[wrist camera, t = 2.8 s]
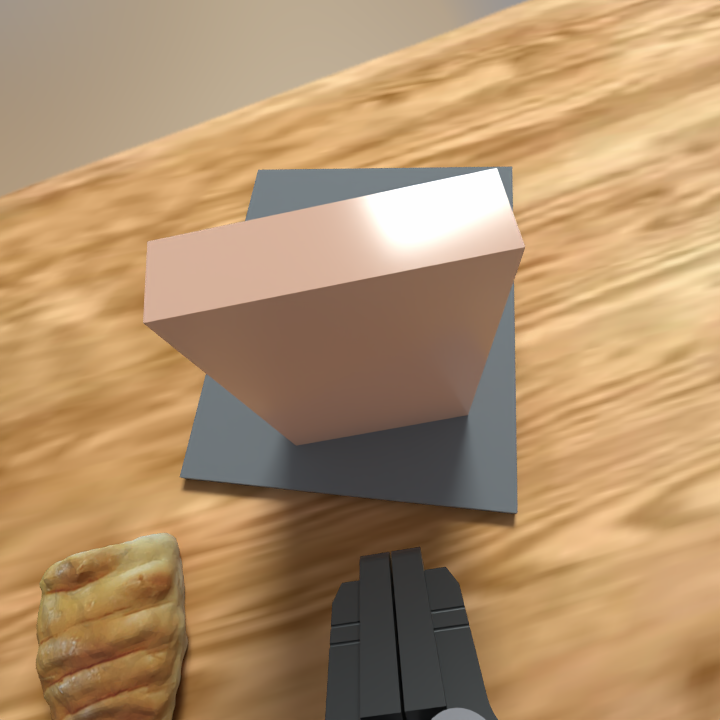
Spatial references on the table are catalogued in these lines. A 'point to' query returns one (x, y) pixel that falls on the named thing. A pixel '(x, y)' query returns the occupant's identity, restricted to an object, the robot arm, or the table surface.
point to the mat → (381, 448)
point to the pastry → (113, 631)
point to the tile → (345, 305)
